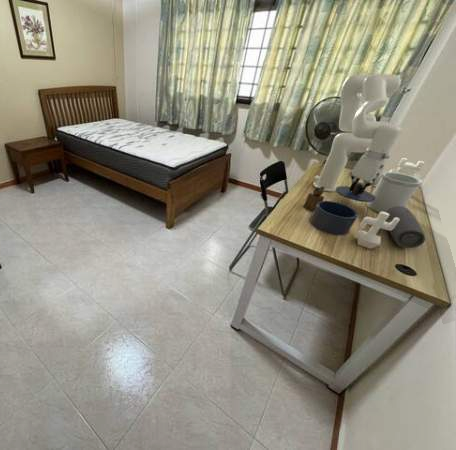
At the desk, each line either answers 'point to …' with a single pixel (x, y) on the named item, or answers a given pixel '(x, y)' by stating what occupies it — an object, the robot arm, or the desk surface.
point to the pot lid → (352, 194)
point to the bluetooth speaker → (405, 228)
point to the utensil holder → (393, 191)
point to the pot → (333, 217)
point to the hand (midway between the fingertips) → (355, 191)
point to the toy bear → (314, 198)
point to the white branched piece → (408, 168)
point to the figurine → (374, 229)
